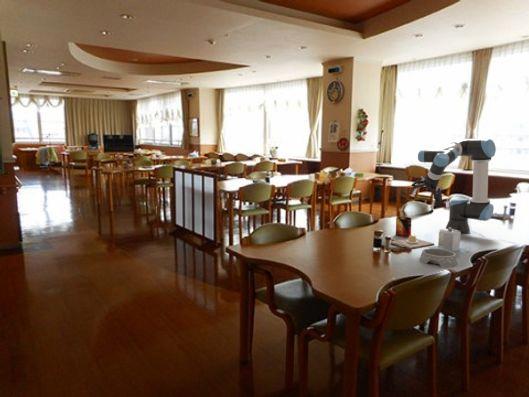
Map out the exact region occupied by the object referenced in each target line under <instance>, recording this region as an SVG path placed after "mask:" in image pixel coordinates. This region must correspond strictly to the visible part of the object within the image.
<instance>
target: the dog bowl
mask: <svg viewBox="0 0 529 397" xmlns="http://www.w3.org/2000/svg"><path fill="white" fill-rule="evenodd" d="M456 254H457V253H456ZM456 254H455V253H454V252H452V251H448V250H444V249H435V248H424V249H423V250H422V251H421V254H420V256H419V257H420V258H419V261H420V262H421V263H423V264H425V265H428V263H431V264H434V265H435V264H437V265H439V266H440V267H442V268H450V267H456V266H458V259H457V255H456Z"/></svg>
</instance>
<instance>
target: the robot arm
mask: <svg viewBox="0 0 529 397" xmlns="http://www.w3.org/2000/svg"><path fill="white" fill-rule="evenodd" d="M496 151H497V149H496V144H495V142H494V140H493V139H491V138H466V139H465V138H464V139H460V140H456V141H453V142H451V143H450V144H448V145H444V146H443V145H442V146H439V147H436V148H432V149H428V150H427V149H424V150H420V151H418V154H417V160H418V162H420V163H424V164H425V163H431V165H430V168H429V170H428V172H427V174H426V177H424V176H423V175H422V176H420V177H419V178H418V179H417V180H416V181H414V182H413V183H412V184H410V185H411V186H412V187H413V188H412V194H411V197H414V196H416V193H417V190H418V189H419V188H421V187H425V188H427V189H428V190H430V192H431V193H432V195H433V198H434V200H433V201H432V204H431V205H430V209H432V208H434V206H436V205H437V204H438V203H439V204H440V203H441V202H442V201H443V196H442V195H443V194H442V190H443V187H442V186H438V184H439V182H440V181H441V178H442V175H443V173H444V171H445V170H446V168H447V167H448V166H449V165H451V164H452V163H453V162H455V161H456V160H457V159H458V158H459V157H470V160H471V162H473V164H472V166H473V167H472V168H473V171H472V174H473V175H472V198H470V199H469V198H457V199H451V200H450V204H449V213H448V214H449V217H448V221H447V224H446V226H445V229H448V228H452V229H454V230H458V231H460V232H461V235H467V234H470V232H471V228H470V224H469V222H468V221H469V220H468V219H470V220H477V221H483V222H484V221H485V222H486V221H489V220H490V219H491V217H492V216H493V213H494V204H493V203H491V200H490V199H489V198H488V195H489V194H488V191H489V162H490V161H492V158H493V157H494V156H495V155H496ZM421 182H422V183H421Z"/></svg>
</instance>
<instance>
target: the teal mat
mask: <svg viewBox="0 0 529 397" xmlns="http://www.w3.org/2000/svg"><path fill="white" fill-rule="evenodd" d="M430 248H435V249H438V245H432V246H427V249H430ZM470 251H471V250H470V249H466V248H462V247H460V250H459V251H457V252H454V253H455V254H461V253H466V252H470Z"/></svg>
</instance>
